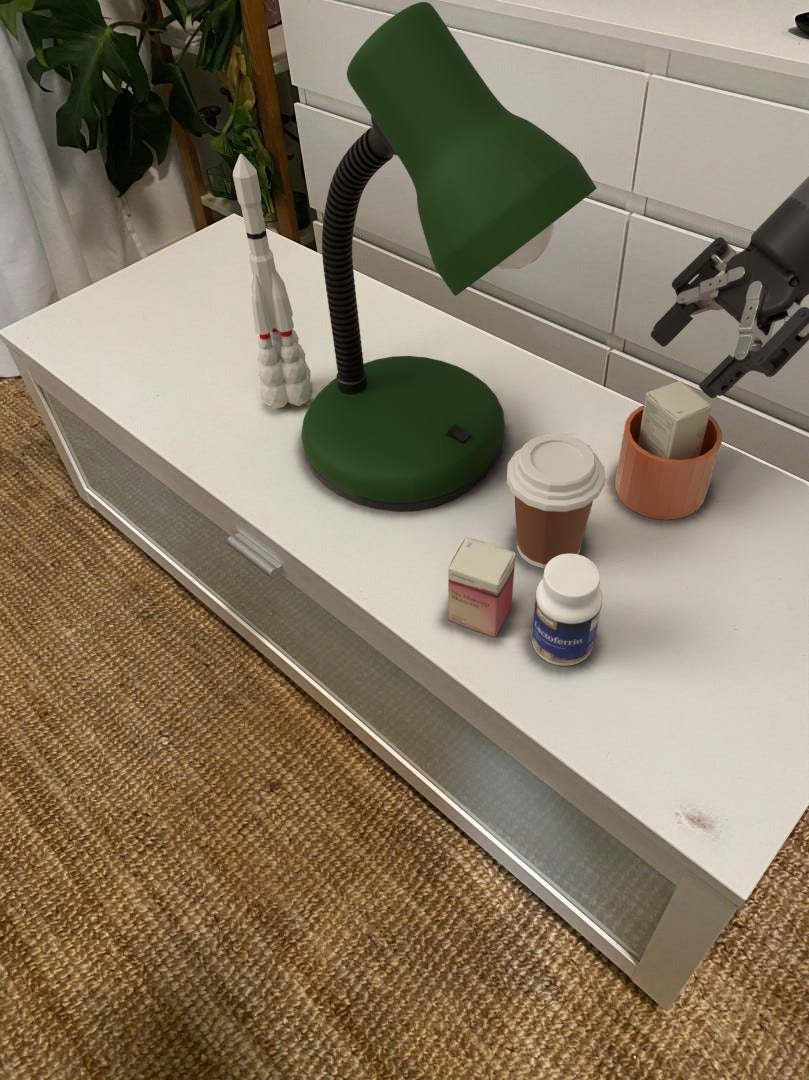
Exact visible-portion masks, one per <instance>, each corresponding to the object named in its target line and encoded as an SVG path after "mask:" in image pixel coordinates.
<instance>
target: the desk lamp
mask: <svg viewBox="0 0 809 1080" xmlns="http://www.w3.org/2000/svg"><path fill="white" fill-rule="evenodd" d="M346 78H347V81H348V84H349V85H350V87H351V88H352V89H353V91H354V93H355V94H356V96H357V97H358V99H359V100H360V102H361V103H362V104H363V107H365V109H366V111H367V112H368V113H369V114H370V120H371V121H370V122H371V125H372V126H371V127H369V128H368V129H367V130H366V131H365V132H363V133H362V134H361V135H360V136H359V137H358V138H357V139H356V140H355V141H354V142H353V144H352V145H351V146H350V148H348V150H347V151H346V152H345V154H344V155H343V157H342V158H341V160H340V161H339V163H338V165H337V167H336V169H335V171H334V174H333V176H332V178H331V181H330V185H329V189H328V191H327V196H326V201H325V207H324V211H323V212H324V214H323V219H322V220H323V221H322V231H321V258H322V267H323V275H324V277H323V278H324V283H325V290H326V297H327V304H328V305H327V306H328V313H329V319H330V327H331V334H332V341H333V347H334V356H335V363H336V370H337V373H336V377H335V378H334V379H333V380H331V381H330V382H329V383H328V384H326V385H325V386H324V387H323V388H322V389H321V390H319V392H318V393H317V394H316V396H315V397H314V399H313V400H312V401H311V402H310V404H309V406H308V408H307V410H306V412H305V414H304V416H303V420H302V428H301V436H300V437H301V443H302V448H303V452H304V457H305V461H306V464H307V466H308V467H309V469H310V471H311V472H312V475H314V476H315V477H316V479H318V480H319V482H321V483H322V484H323V485H324V486H325V487H326V488H328V489H329V490H331V491H332V492H334V493H335V494H337V495H338V496H340V497H342V498H344V499H347V500H349V501H351V502H354V503H356V504H358V505H361V506H366V507H369V508H373V509H378V510H386V511H394V512H405V511H408V512H409V511H419V510H424V509H429V508H434V507H437V506H440V505H442V504H445V503H447V502H450V501H452V500H456V499H457V498H458V497H460V496H462V495H463V494H465V493H467V492H468V491H470V490H472V489H473V488H475V486H476V485H478V484H479V483H480V482H482V481H483V480H484V479H486V477H487V476H488V474H489V473H490V472H491V471H492V470H493V468H494V467H495V466H496V464H497V462H498V460H499V458H500V457H501V455H502V451H503V447H504V444H505V439H506V437H505V436H506V435H505V434H506V424H505V415H504V409H503V407H502V405H501V402H500V400H499V398H498V396H497V395H496V393H495V392H494V391H493V390H492V389H491V388H490V387H489V385H487V383H485V382H484V381H483V380H482V379H480V378H479V377H478V376H476V375H474V374H473V373H471V372H470V371H468V370H466V369H464V368H462V367H460V366H458V365H455V364H452V363H450V362H446V361H443V360H440V359H434V358H430V357H426V356H417V355H416V356H415V355H395V356H388V357H382V358H377V359H374V360H370V361H367V362H365V363H364V354H363V353H364V352H363V345H362V336H361V335H362V334H361V328H360V319H359V310H358V303H357V302H358V300H357V292H356V284H355V282H356V281H355V273H354V272H355V271H354V261H353V260H354V259H353V238H354V229H355V225H356V224H355V223H356V219H357V214H358V209H359V204H360V201H361V198H362V195H363V193H364V190H365V188H366V187H367V185H368V183H369V182H370V181H371V179H372V177H373V176H374V175H375V174H376V173H377V172H378V171H379V170H381V168H382V167H384V165H386V164H387V163H388V162H390V161H391V160H392V159H393V157H394V156H397V158H398V159H399V160H400V162H401V163H402V165H403V167H404V168H405V170H406V172H407V173H408V175H409V178H410V180H411V182H412V184H413V187H414V190H415V193H416V203H417V212H418V217H419V220H420V225H421V228H422V232H423V235H424V239H425V242H426V246H427V248H428V251H429V254H430V257H431V261H432V264H433V267H434V268H435V270H436V272H437V273H438V275H439V276H440V277H441V279H442V280H443V282H444V283H445V285H446V286H447V287H448V289H449V291H450V292H451V293H452V295H453V296H454V297H456V296H458V295H459V294H461V293H462V292H463V291H465V290H466V289H468V288H469V287H470V286H472V285H473V284H474V283H475V282H477V281H478V280H480V279H481V278H483V277H484V276H485V275H486V274H488V273H489V272H491V271H492V270H493V269H495V268H498V269H500V270H519V269H521V268H524V267H526V266H528V265H530V264H532V263H534V262H536V261H537V260H538V259H539V258H540V257H541V256H542V255H543V253H544V252H545V251H546V250H547V248H548V247H549V245H550V242H551V239H552V237H553V234H554V229H555V222H556V221H557V220H559V219H560V218H562V217H563V216H564V215H565V214H566V213H568V212H569V211H570V210H572V209H573V208H574V207H575V206H577V205H578V204H580V203H581V202H583V200H585V199H586V198H587V197H588V196H590V195H591V194H592V193H594V192H595V191H596V190H597V189H598V188H597V185H596V184H595V182H594V181H593V179H592V178H591V176H590V175H589V174H588V173H589V172H587V170H586V169H585V167H584V166H583V164H582V162H581V161H580V159H579V158H578V156H576V155H575V154H574V152H571V151H570V150H569V149H568V148H567V147H566V146H564V145H563V144H561V142H559V141H558V140H557V139H555V138H554V137H552V136H551V135H550V134H548V132H546V131H545V130H543V129H542V128H540V127H538V125H536V124H535V123H533V122H531V121H529V120H528V119H526V118H523V117H521V116H519V115H516V114H514V113H512V112H511V111H509V110H508V109H507V108H506V107H505V106H504V105H503V104H502V103H501V102H500V100H499V99H498V97H496V95H495V94H494V93H493V91H492V90H491V89H490V88H489V86H488V85H487V84H486V82H485V80H483V78H482V77H481V75H480V74H479V72H478V71H477V69H476V68H475V66H474V65H473V64H472V62H471V60H470V59H469V58H468V55H466V53H465V52H464V49H462V47H461V46H460V44H459V42H458V41H457V39H456V38H455V36H454V35H453V34H452V32H451V31H450V29H449V28H448V26H447V25H446V23H445V22H444V20H443V18H442V17H441V16H440V14H439V13H438V12H437V10H436V9H435V7H434V6H433V5H432V4H431V3H430V2H428V1H420V2H416V3H413V4H411V5H409V6H407V7H405V8H403V9H402V10H400V11H399V12H397V13H396V14H394V15H393V16H392V17H390V18H389V19H387V20H386V21H385V22H384V23H382V25H380V26H379V27H378V28H376V30H375V31H373V33H371V35H370V36H369V37H368V38H367V39H366V40H365V42H364V43H363V44H361V46H360V47H359V49H358V50H357V51H356V52H355V54H354V55H353V57H352V58H351V60H350V61H349V64H348V66H347V70H346Z"/></svg>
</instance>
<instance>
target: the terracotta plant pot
mask: <svg viewBox="0 0 809 1080" xmlns="http://www.w3.org/2000/svg"><path fill="white" fill-rule="evenodd" d="M643 410H644V404H643V405H641V406H639V407H637V408H636V409H634V410H633V411H632V412H631V413H630V414H629V415H628V417H627V418H626V420H625V421H624V428H623V434H622V439H621V444H620V450H619V451H620V452H619V457H618V462H617V467H616V474H615V481H614V486H615V491H616V493H617V496H618V498H619V499H620V501H621V502H622V503H623V504H624V505H625V506H626V507H627V508H629V509H630V510H632V511H633V512H635V513H637V514H638V515H641V516H644V517H646V518H651V519H655V520H665V521H666V520H667V521H669V520H678V519H682V518H685V517H688V516H690V515H692V514H694V513H695V512H696V511H698V510H699V509H700V508H701V506H703V504H704V502H705V500H706V497H707V494H708V491H709V489H710V484H711V481H712V478H713V474H714V470H715V467H716V463H717V460H718V456H719V453H720V450H721V447H722V443H723V431H722V429H721V426H720V425H719V423H718V421H717V420H716V419H715V418H714V417H713V415H712V416H711V414H709V418H708V422H707V427H706V431H705V435H704V439H703V444H702V448H701V452H700V456H699V457H696V458H693V459H685V460H674V459H665V458H662V457H659V456H655V455H652V454H650V453H649V452H647V451H645V450H644V449H642V448H640V446H639V445H638V440H639V434H640V428H641V422H642V416H643Z"/></svg>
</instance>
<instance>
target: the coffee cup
mask: <svg viewBox="0 0 809 1080" xmlns="http://www.w3.org/2000/svg"><path fill="white" fill-rule="evenodd" d="M506 466H507V467H506V470H507V471H506V483H507V485H508V487H509V489H510V491H511V493H512V494H513V497H514V515H515V529H516V531H515V532H516V549H517V551H518V553H519V554H520V557H521V558H522V559H523V560H525V561H526V563H528V564H530V565H531V566H535V567H537V568H540V569H545V567H546V565H547V564H548V562H549V561H550V560H551V559H553V558H554V557H556V556H558V555H562V554H578V555H580V552H581V549H582V543H583V539H584V536H585V534H586V529H587V526H588V522H589V518H590V514H591V511H592V507H593V503H594V501H595V500H596V499H598V498H599V496H600V494H601V492H602V491H603V489H604V487H605V484H606V471H605V466H604V464H603V462H602V461H601V460H600V458H599V457H598V455H597V454H596V453H595V452H594V450H593V449H592V448H591V447H590V445H589V444H588V443H586V442H585V441H583V440H582V439H580V438H579V437H576V436H573V435H569V434H566V433H546V434H542V435H538V436H535V437H533V438H532V439H530V440H528V441H527V442H525V443H524V445H523V446H522V447H520V448H519V449H518V450H516V451H515V452H514V454H513V455H512V457H511V458H510V460H509V461H508V463H507V465H506Z"/></svg>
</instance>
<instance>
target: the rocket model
mask: <svg viewBox="0 0 809 1080" xmlns="http://www.w3.org/2000/svg"><path fill="white" fill-rule="evenodd" d="M257 171H258V170H257V169H256V167H255V166H254V165H253V164H252V163H251V162H250V161H249V159H247V157H246V156H245V155H244V154H243V153H240V154H239V155H238V158H237V160H236V163H235V166H234V168H233V171H232V178H233V184H234V188H235V192H236V197H237V202H238V204H239V205H240V208H241V211H242V212H241V213H242V218H243V223H244V227H245V232H246V233H245V234H246V238H247V241H248V242H247V243H248V247H249V251H250V253H249V263H250V267H251V269H250V270H251V273H252V280H251V285H250V287H251V305H252V314H253V315H252V316H253V322H254V324H253V325H254V331H255V334H258V338H257V344H258V347H259V349H258V355H257V362H258V377H259V381H260V384H259V385H260V386H259V387H260V389H259V394H260V396H261V398H262V400H263V401H264V404H265V405H267V406H269V407H271V408H273V409H275V410H277V409H280V408H284V407H286V405H287V404H288V403H289V404H291V405H294V406H297V407H300V406H302V405H304V404H306V403H307V402H309V400H310V399H311V397H312V391H313V385H312V382H311V369H310V367H309V365H308V364H307V362H306V351H304V348H303V346H302V345H301V344H299V336H298V334H297V332H296V330H294V328H295V324H294V321H293V316H294V312H293V308H292V305H291V301H290V297H289V295H288V292H287V288H286V284H285V282H284V280H283V279H282V276H281V275H280V274H279V272H278V270H277V269H276V263H275V259H274V253H273V251H272V249H270V244H269V240H268V234H267V228H266V227H267V226H266V223H265V218H264V213H263V207H262V192H261V188H260V187H261V186H260V182H259V181H260V180H259V176H258V172H257Z"/></svg>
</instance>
